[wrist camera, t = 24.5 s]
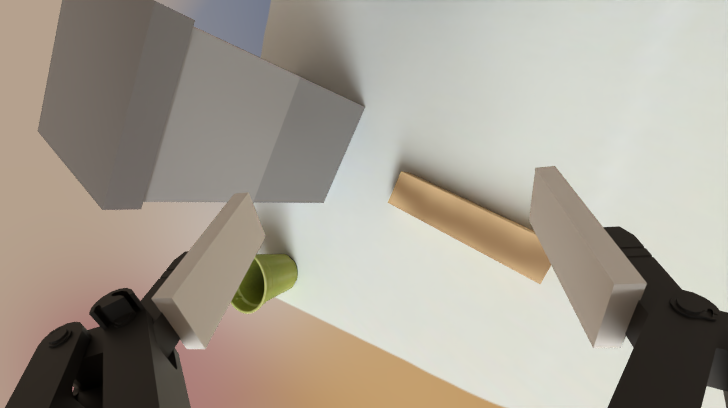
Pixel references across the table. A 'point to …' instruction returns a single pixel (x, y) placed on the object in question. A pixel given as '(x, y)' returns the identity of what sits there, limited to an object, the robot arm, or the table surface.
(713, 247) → the table surface
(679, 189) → the table surface
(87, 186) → the grey box
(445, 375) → the table surface
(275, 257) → the plant pot
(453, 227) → the oak slat
